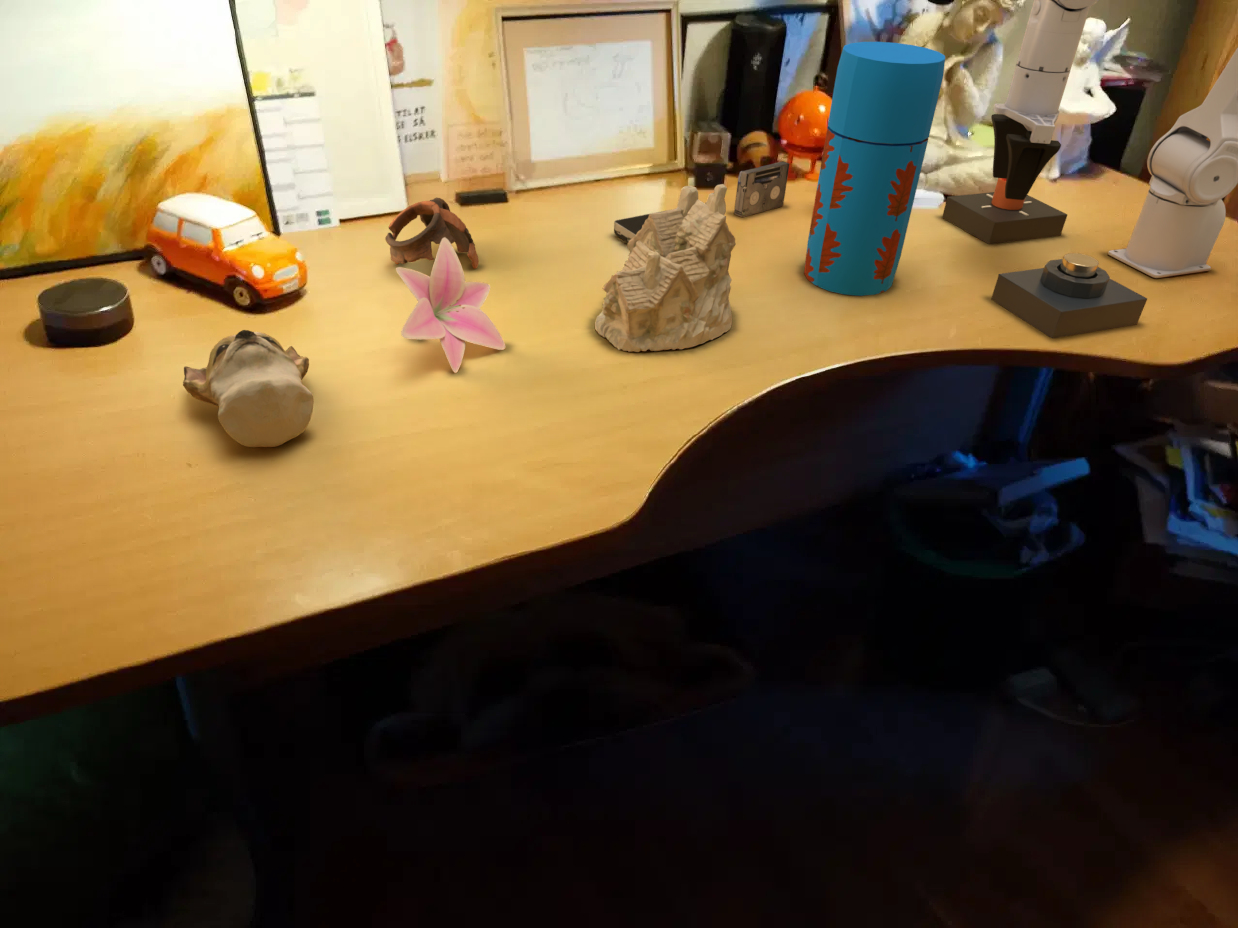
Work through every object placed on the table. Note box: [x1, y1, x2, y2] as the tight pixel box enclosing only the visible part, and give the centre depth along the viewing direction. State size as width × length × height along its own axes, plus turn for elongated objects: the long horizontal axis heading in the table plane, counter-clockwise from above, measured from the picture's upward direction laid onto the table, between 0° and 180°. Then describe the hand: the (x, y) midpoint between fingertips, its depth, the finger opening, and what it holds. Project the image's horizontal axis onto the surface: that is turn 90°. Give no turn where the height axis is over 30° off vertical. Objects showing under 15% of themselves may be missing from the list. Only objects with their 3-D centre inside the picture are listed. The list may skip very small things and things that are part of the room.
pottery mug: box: [384, 197, 480, 270], centre depth 106 cm, size 12×10×8 cm
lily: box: [395, 237, 506, 374], centre depth 88 cm, size 12×12×10 cm
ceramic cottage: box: [594, 183, 737, 353], centre depth 94 cm, size 16×16×15 cm
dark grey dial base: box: [941, 191, 1068, 245], centre depth 123 cm, size 12×10×3 cm
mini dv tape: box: [733, 161, 790, 218], centre depth 124 cm, size 8×2×6 cm, turn 128°
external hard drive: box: [613, 208, 673, 243], centre depth 115 cm, size 7×11×2 cm, turn 122°
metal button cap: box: [1059, 252, 1100, 279], centre depth 100 cm, size 4×4×2 cm
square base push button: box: [990, 258, 1148, 339], centre depth 101 cm, size 12×10×5 cm
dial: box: [992, 178, 1025, 210], centre depth 121 cm, size 4×4×4 cm
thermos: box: [803, 41, 946, 297], centre depth 101 cm, size 11×11×25 cm
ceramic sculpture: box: [182, 329, 314, 448], centre depth 77 cm, size 11×9×15 cm
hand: (1007, 187), depth 109 cm, fingers open, 7 cm apart
